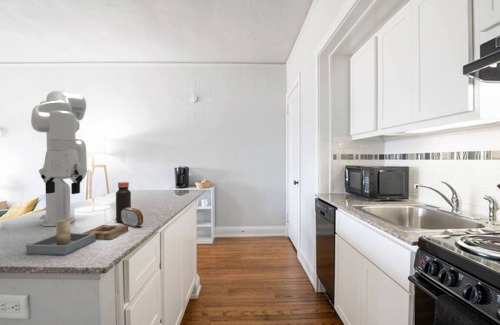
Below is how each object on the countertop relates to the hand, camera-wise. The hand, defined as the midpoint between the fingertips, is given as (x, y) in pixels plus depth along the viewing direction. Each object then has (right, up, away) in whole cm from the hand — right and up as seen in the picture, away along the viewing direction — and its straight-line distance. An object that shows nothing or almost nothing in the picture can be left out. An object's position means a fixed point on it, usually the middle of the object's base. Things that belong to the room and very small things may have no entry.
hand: (63, 193), depth 88 cm
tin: (+11, -20, +29) cm, 37 cm away
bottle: (+3, -19, +37) cm, 42 cm away
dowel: (0, -19, 0) cm, 19 cm away
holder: (+7, -19, +15) cm, 25 cm away
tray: (0, -20, 0) cm, 20 cm away
